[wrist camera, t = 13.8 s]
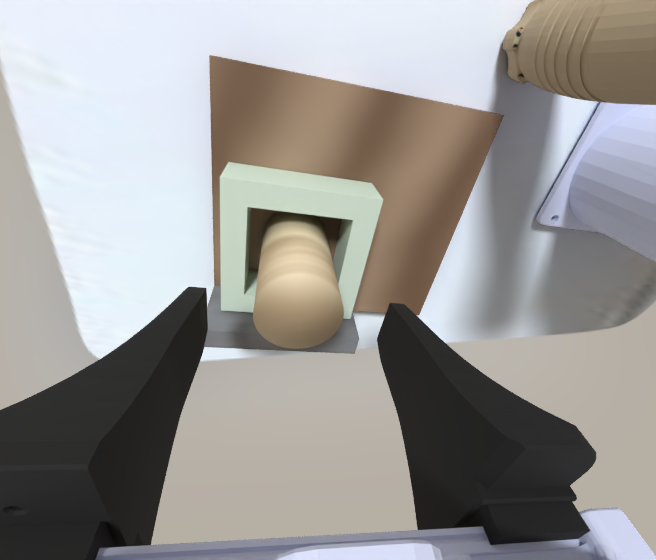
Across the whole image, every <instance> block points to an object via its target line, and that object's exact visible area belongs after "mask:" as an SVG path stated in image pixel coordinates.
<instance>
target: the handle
mask: <svg viewBox="0 0 656 560" xmlns="http://www.w3.org/2000/svg"><path fill="white" fill-rule="evenodd" d="M503 50H505V51H506V53H507V57H508V70H507V75H508V76H509V77H510V78H512V79H513V80H515V81H517V82H520V83H525V82H530V83H532V84H533V85H535V86H537V87H539V88H541V89H544V90H547V91H549V92H552V93H556V94H559V95H563V96H567V97H571V98H576V99H582V100H589V101H597V102H605V103H614V104H638V105H656V0H534V1H533V2H531V3H530V4H529V5H528V6H527V8H526V11H525V13H524V15H523V17H522V18H521V20H520V21H519V22H518V23H517V25H516V26H515V27H514V28H512V29H511V30H509V31H508V32H507V33H506V35H505V38H504V41H503Z"/></svg>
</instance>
